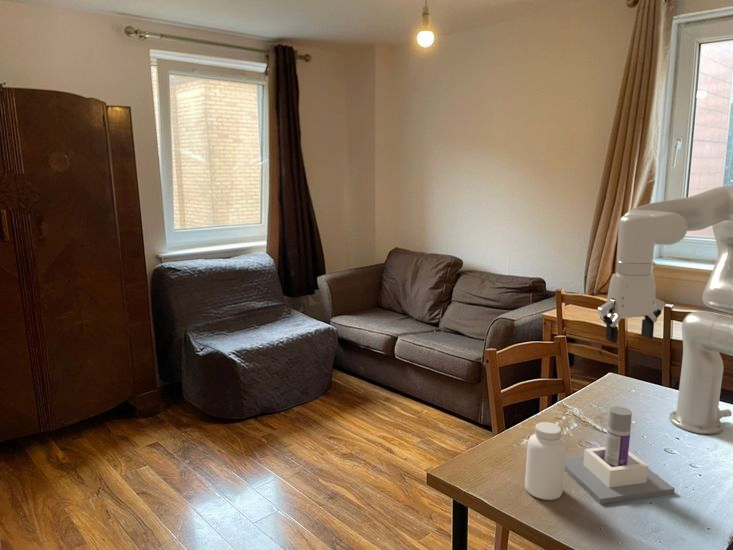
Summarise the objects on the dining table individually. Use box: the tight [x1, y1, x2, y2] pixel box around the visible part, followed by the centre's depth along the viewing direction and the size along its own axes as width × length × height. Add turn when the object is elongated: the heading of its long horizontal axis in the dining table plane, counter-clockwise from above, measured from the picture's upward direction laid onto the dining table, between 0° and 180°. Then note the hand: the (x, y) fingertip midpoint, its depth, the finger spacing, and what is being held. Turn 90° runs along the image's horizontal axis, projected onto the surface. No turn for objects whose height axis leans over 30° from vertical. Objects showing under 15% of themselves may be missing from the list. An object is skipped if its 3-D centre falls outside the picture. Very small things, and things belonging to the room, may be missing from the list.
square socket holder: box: [564, 446, 676, 505], centre depth 124 cm, size 18×16×5 cm
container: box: [604, 406, 633, 467], centre depth 122 cm, size 5×5×15 cm
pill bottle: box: [524, 421, 567, 501], centre depth 118 cm, size 8×8×15 cm
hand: (629, 339), depth 129 cm, fingers open, 9 cm apart
